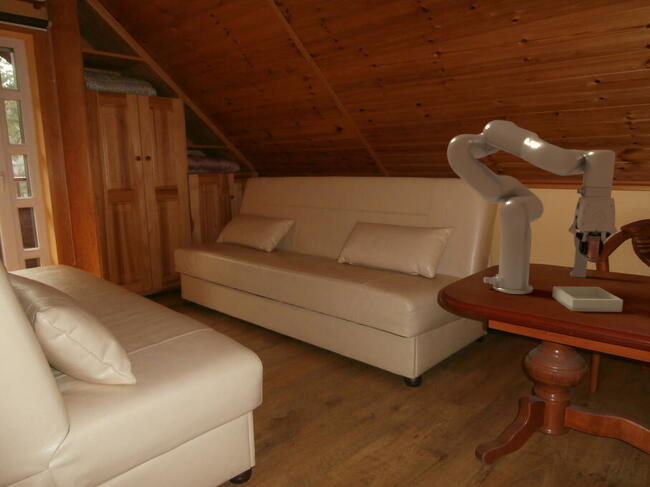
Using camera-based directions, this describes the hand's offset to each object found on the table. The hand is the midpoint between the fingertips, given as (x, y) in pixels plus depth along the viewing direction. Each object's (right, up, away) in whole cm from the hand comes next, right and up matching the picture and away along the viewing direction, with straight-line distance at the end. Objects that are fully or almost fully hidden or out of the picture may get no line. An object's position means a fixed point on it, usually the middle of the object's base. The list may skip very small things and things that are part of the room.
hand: (590, 253), depth 139 cm
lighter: (0, -2, 0) cm, 2 cm away
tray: (0, -16, +3) cm, 16 cm away
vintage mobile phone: (+16, -9, +35) cm, 40 cm away
